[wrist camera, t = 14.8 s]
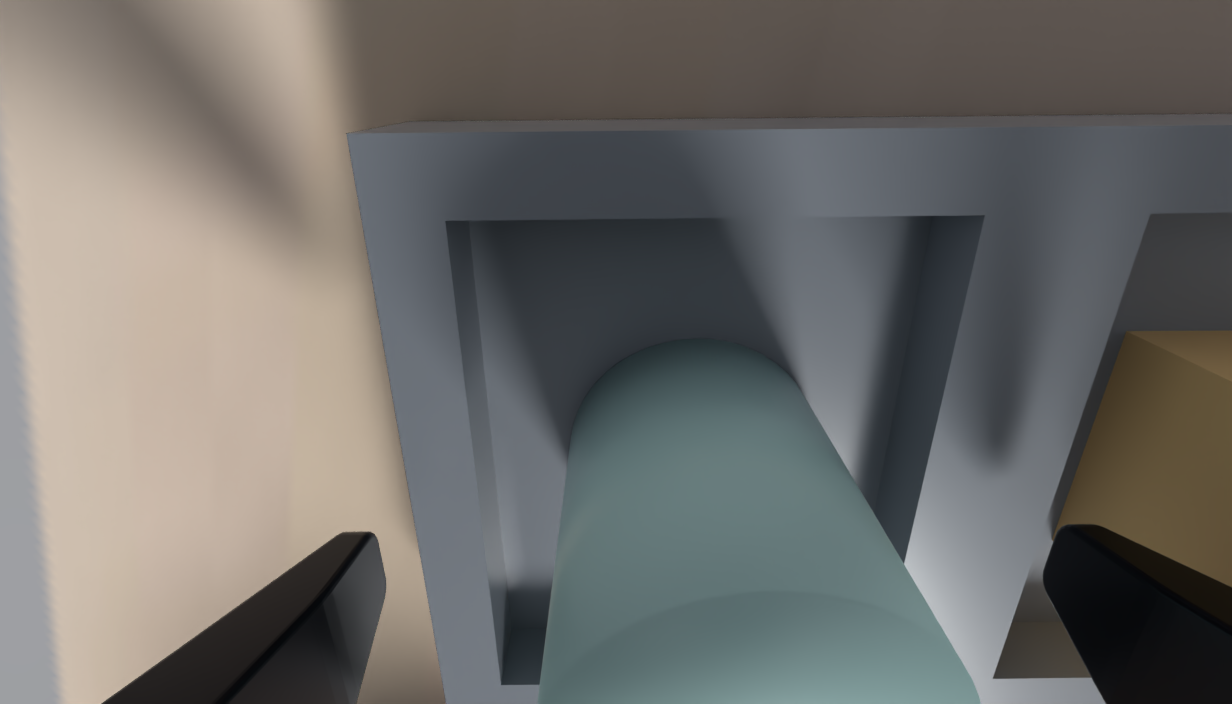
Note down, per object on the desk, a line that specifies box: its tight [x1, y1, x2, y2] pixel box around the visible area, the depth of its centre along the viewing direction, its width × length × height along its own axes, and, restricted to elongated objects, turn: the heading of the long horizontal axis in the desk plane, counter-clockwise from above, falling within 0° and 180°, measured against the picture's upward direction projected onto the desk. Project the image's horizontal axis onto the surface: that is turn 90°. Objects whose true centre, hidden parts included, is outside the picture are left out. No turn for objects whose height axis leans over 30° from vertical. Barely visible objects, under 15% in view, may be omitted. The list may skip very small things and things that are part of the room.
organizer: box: [346, 114, 1232, 704], centre depth 10 cm, size 17×10×2 cm, turn 91°
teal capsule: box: [537, 338, 981, 704], centre depth 8 cm, size 4×4×5 cm
